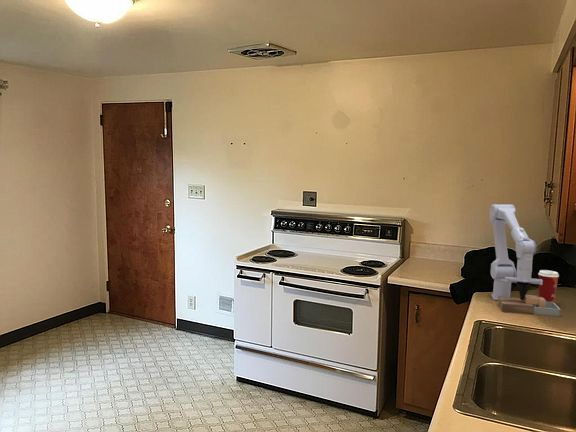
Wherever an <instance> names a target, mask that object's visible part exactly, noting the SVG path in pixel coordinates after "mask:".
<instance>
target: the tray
mask: <svg viewBox="0 0 576 432" xmlns="http://www.w3.org/2000/svg"><path fill="white" fill-rule="evenodd" d="M532 305H533V306H534V310H533V315H539V316H549V317H561V312H562V310H561V308H560V307H559V306H558V305H557V304H556V303H555V301H554V302H546V306H545V308H541V307H536V304H532Z"/></svg>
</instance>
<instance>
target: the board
mask: <svg viewBox="0 0 576 432" xmlns="http://www.w3.org/2000/svg"><path fill="white" fill-rule="evenodd" d="M497 306H498V307H499V309H500V310H501V312H503V313H511V314H520V315H521V314H523V315H534V314H533V310H534V306H533V305H532V304H526V303H525V302H524V301H523V300H521V299H520V297H511V296H510V297H499V296H498V300H497Z"/></svg>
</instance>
